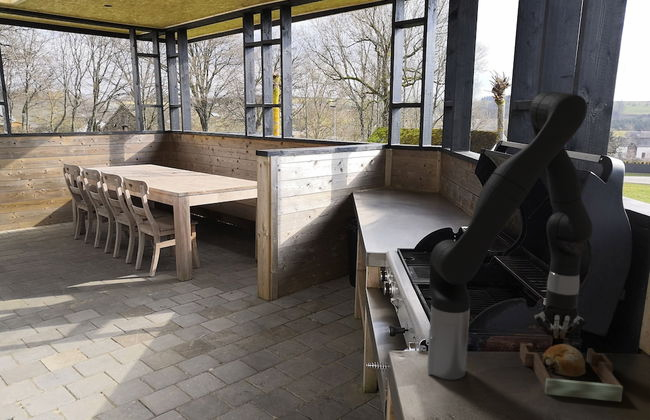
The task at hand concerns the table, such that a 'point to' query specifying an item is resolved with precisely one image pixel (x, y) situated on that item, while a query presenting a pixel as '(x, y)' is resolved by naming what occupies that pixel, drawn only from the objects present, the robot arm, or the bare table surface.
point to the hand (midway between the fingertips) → (556, 349)
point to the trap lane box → (580, 389)
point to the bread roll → (564, 360)
